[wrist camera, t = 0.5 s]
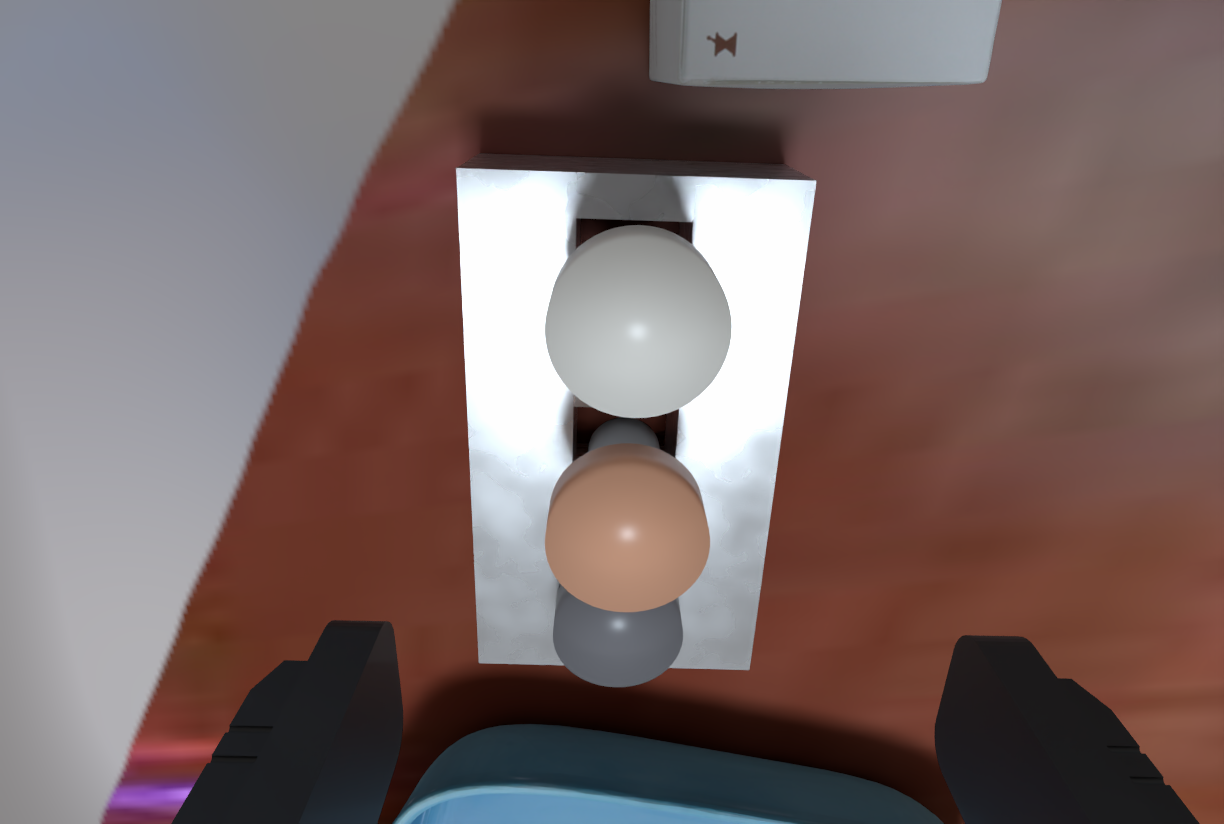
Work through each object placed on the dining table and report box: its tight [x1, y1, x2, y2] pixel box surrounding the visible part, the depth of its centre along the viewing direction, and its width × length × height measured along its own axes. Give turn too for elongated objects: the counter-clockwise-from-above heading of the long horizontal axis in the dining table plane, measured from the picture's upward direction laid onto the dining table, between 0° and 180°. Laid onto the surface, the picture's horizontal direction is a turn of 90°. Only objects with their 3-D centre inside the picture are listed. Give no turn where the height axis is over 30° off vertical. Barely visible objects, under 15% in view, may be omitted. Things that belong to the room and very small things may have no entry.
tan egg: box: [545, 417, 710, 612], centre depth 27 cm, size 5×5×7 cm
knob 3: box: [553, 585, 683, 687], centre depth 34 cm, size 5×5×7 cm
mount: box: [456, 153, 816, 670], centre depth 32 cm, size 12×21×5 cm, turn 178°
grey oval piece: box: [545, 225, 732, 418], centre depth 24 cm, size 5×5×7 cm
